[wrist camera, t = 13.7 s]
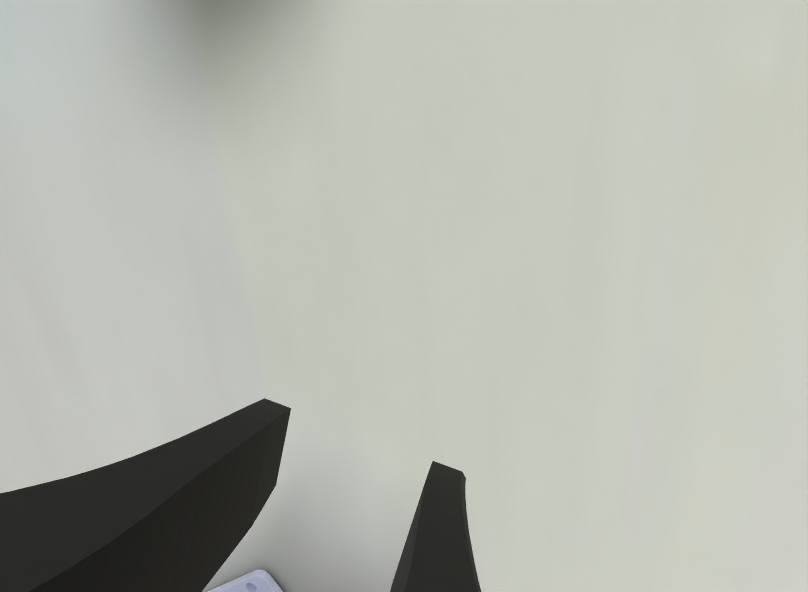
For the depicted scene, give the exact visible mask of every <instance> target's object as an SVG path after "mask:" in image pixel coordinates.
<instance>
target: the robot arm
mask: <svg viewBox="0 0 808 592" xmlns="http://www.w3.org/2000/svg"><path fill="white" fill-rule="evenodd" d="M290 411H291V408H289V407H286V406H283V405H281V404H278V403H275V402H273V401H270V400H267V399H262V400H260V401H258V402H256V403H253V404H251V405H249V406H247V407H245V408H243V409H241V410H238V411H236V412H234V413H232V414H230V415H228V416H226V417H224V418H222V419H220V420H218V421H215V422H213V423H211V424H209V425H207V426H205V427H203V428H200V429H198V430H196V431H194V432H191V433H189V434H187V435H185V436H183V437H180V438H178V439H176V440H173V441H171V442H168V443H166V444H163V445H161V446H158V447H156V448H153V449H151V450H148V451H146V452H143V453H141V454H138V455H136V456H133V457H130V458H128V459H125V460H122V461H119V462H116V463H113V464H110V465H107V466H104V467H101V468H98V469H94V470H91V471H88V472H85V473H81V474H78V475H74V476H71V477H67V478H64V479H59V480H55V481H51V482H47V483H43V484H39V485H35V486H31V487H26V488H22V489H18V490H14V491H10V492H5V493H0V592H202V591H203V589H204V588H205V587H206V585H207V584H208V583H209V582H210V580H211V579H212V578H213V576H214V575H215V574H216V572H217V571H218V570H219V569H220V567H221V566H222V565H223V563H224V562H225V561H226V559H227V558H228V557H229V556H230V554H231V553H232V552H233V550H234V549H235V548H236V546H237V545H238V544H239V542H240V541H241V540H242V538H243V537H244V536H245V534H246V533H247V532H248V530H249V529H250V528H251V526H252V525H253V523H254V521H255V520H256V518H257V516H258V515H259V513H260V512H261V510H262V508H263V506H264V505H265V503H266V501H267V500H268V498H269V496H270V494H271V493H272V491H273V489H274V487H275V486H276V482H277V477H278V472H279V467H280V461H281V456H282V451H283V446H284V441H285V436H286V431H287V426H288V421H289V416H290ZM465 481H466V478H465V476H464V474H463V472H461V471H459V470H456V469H453V468H451V467H448V466H445V465H443V464H440V463H437V462H435V461H433V462H432V464H431V467H430V470H429V473H428V476H427V479H426V481H425V484H424V487H423V491H422V494H421V497H420V500H419V503H418V506H417V509H416V512H415V515H414V518H413V521H412V524H411V528H410V531H409V534H408V537H407V540H406V543H405V546H404V549H403V552H402V555H401V558H400V561H399V565H398V568H397V571H396V574H395V577H394V580H393V583H392V587H391V591H390V592H481V589H480V585H479V581H478V577H477V572H476V568H475V563H474V558H473V552H472V547H471V541H470V536H469V529H468V521H467V512H466V500H465ZM207 592H283V591H282V589H281V588H280V587H279V586H278V584H277V583H276V582H275V581H274V579H273V578H272V577H271V576H270V574H269V573H268V572H266V571H264V570H260V569H259V570H255V571H252V572H250V573H248V574H246V575H243V576H241V577H239V578H237V579H234V580H232V581H230V582H228V583H225V584H223V585H221V586H219V587H216V588H214V589H212V590H210V591H207Z"/></svg>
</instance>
